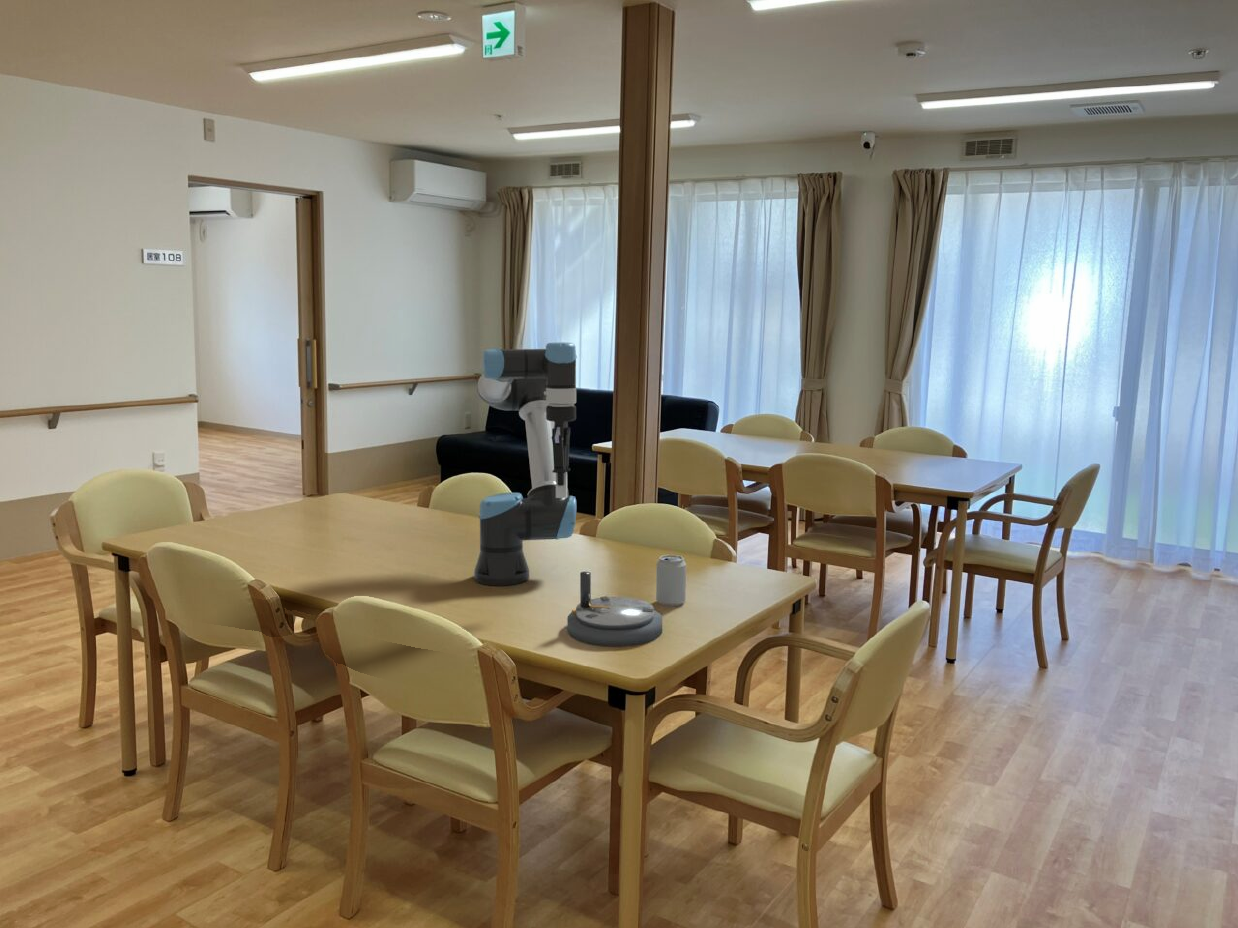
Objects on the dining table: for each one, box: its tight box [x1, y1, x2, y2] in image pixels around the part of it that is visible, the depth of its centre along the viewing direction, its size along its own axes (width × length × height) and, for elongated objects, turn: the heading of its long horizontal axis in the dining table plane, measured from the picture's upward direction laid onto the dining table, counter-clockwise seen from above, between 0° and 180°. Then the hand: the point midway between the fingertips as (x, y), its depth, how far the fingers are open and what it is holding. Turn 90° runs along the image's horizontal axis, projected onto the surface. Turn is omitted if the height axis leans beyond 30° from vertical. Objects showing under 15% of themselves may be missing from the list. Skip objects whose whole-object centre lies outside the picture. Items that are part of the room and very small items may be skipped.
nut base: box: [566, 608, 663, 648], centre depth 224 cm, size 22×22×4 cm
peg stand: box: [575, 571, 655, 629], centre depth 223 cm, size 18×18×10 cm
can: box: [655, 554, 687, 608], centre depth 245 cm, size 8×8×12 cm
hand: (561, 497), depth 245 cm, fingers closed
